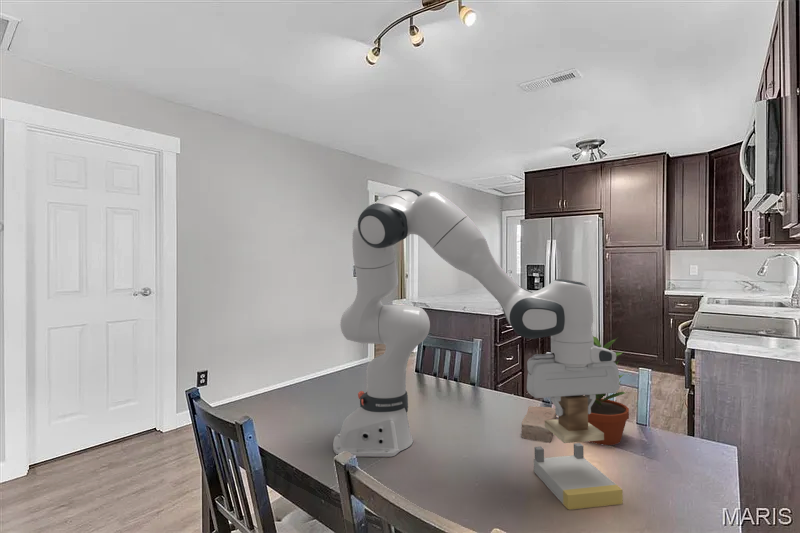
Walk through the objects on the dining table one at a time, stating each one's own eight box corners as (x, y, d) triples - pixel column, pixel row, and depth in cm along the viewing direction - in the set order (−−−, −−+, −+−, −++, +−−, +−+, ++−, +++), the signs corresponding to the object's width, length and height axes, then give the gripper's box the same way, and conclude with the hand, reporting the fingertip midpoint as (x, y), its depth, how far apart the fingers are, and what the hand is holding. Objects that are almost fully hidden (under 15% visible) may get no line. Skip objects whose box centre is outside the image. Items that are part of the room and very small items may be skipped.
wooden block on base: (564, 443, 90) (563, 403, 90) (544, 426, 99) (544, 390, 99) (604, 440, 91) (603, 400, 91) (581, 423, 100) (580, 387, 100)
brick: (551, 443, 118) (551, 427, 118) (520, 439, 122) (520, 422, 122) (557, 422, 133) (556, 407, 133) (529, 419, 137) (529, 404, 137)
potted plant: (644, 443, 116) (642, 333, 116) (598, 452, 112) (596, 338, 111) (603, 423, 130) (602, 325, 130) (561, 430, 126) (559, 329, 126)
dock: (568, 509, 87) (567, 480, 87) (533, 471, 103) (533, 446, 103) (622, 503, 89) (622, 475, 88) (580, 466, 104) (580, 442, 104)
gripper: (533, 358, 90) (534, 423, 91) (623, 353, 93) (624, 416, 93) (521, 351, 97) (522, 412, 97) (605, 347, 99) (606, 406, 99)
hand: (573, 414), depth 95 cm, fingers closed on wooden block on base, 4 cm apart
